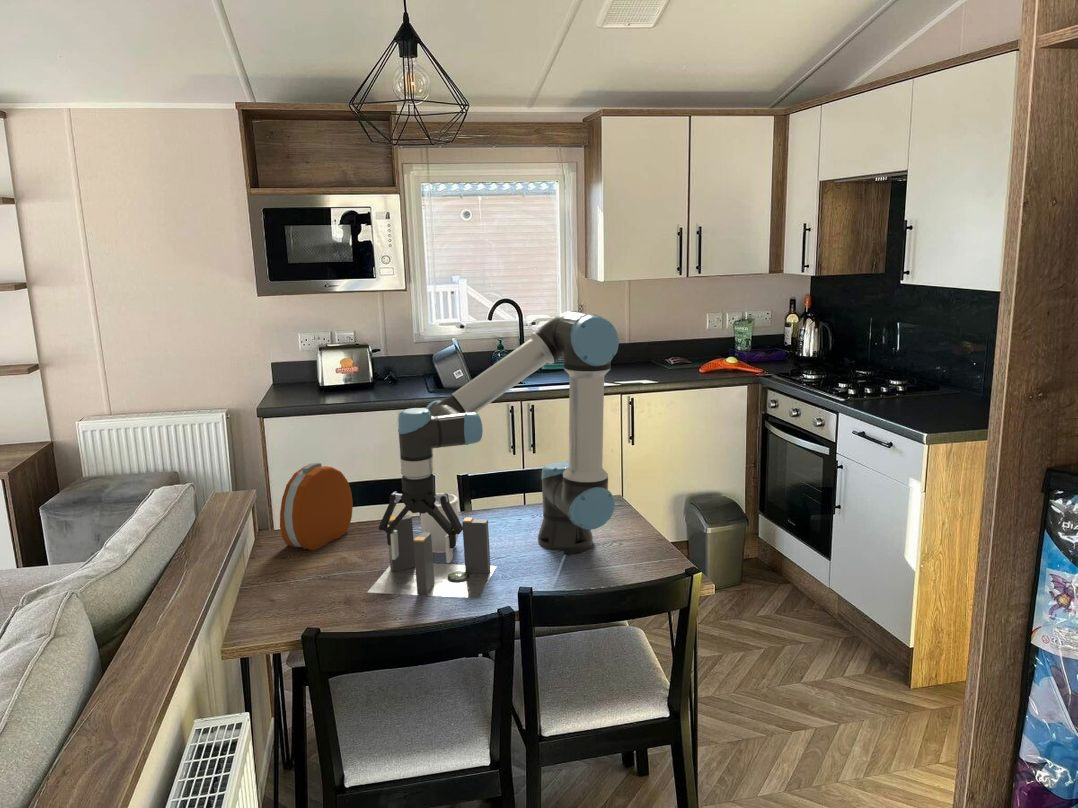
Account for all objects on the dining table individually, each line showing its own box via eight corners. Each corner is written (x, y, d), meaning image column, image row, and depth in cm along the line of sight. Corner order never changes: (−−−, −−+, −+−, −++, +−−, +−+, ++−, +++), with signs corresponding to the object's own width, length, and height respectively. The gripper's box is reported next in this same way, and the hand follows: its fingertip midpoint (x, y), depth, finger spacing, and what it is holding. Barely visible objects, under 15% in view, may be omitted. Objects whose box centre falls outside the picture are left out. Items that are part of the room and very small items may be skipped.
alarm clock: (330, 523, 248) (323, 451, 243) (355, 528, 243) (349, 455, 238) (276, 550, 229) (267, 473, 224) (303, 555, 224) (295, 477, 219)
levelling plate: (496, 570, 210) (496, 563, 210) (479, 602, 193) (478, 594, 193) (393, 566, 215) (392, 558, 215) (367, 596, 198) (366, 589, 198)
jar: (454, 559, 218) (451, 506, 215) (417, 557, 220) (413, 505, 217) (465, 544, 228) (462, 493, 225) (430, 542, 230) (426, 492, 227)
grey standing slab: (425, 583, 201) (421, 530, 198) (434, 584, 201) (430, 530, 198) (417, 594, 196) (413, 540, 192) (427, 595, 195) (423, 540, 192)
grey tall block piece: (490, 569, 208) (487, 518, 205) (488, 573, 206) (485, 521, 203) (467, 568, 209) (464, 517, 206) (465, 572, 207) (462, 520, 204)
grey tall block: (412, 563, 213) (408, 513, 210) (415, 566, 211) (411, 516, 208) (390, 568, 211) (386, 517, 208) (393, 571, 209) (388, 520, 206)
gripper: (473, 471, 193) (476, 555, 198) (373, 468, 198) (379, 550, 202) (464, 481, 186) (468, 568, 190) (361, 477, 190) (367, 562, 195)
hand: (422, 559), depth 196 cm, fingers open, 13 cm apart
